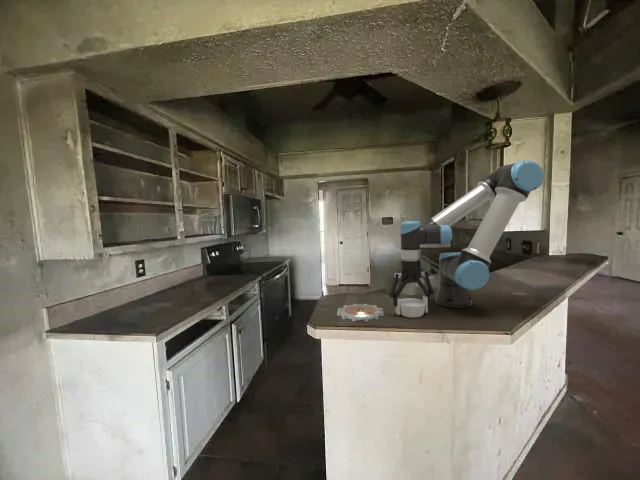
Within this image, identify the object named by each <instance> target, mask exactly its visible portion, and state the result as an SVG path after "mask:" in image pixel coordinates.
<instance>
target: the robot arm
mask: <svg viewBox="0 0 640 480" xmlns="http://www.w3.org/2000/svg"><path fill="white" fill-rule="evenodd" d="M543 181H544V172H543V169H542V167H541V166H540V164H538V163H537V162H535V161H533V160H525V159H524V160H519V161H516V162H514V163H510V164H505V165H502V166H500V167H498V168H496V169H495V170H493V171H492V172H491V173H490V174H488V175H487V176H485V177H484V178H483V179H482V180H480V181H479V182H477V186H475V187H474V188H472V189H471V190H470V191H468V192H467V193H465V194H464V195H463V196H461V197H459V198H458V199H457V200H456V201H454V202H453V203H451V204H450V205H448V206H447V207H445V208H444V209H443V210H441V211H439V212H438V213H437V214H436V215H434V216H432V217H431V218H430V219H428V220H427V221H425V222H424V223H421V222H420V221H417V220H416V221H415V220H413V221H412V220H410V221H409V220H407V221H406V220H405V221H402V222H401V223H400V233H399V234H400V259H401V260H400V267H401V271H400V272H399V273H396V272H394V273H393V280H392V283H391V285H390V288H389V291H388V297H389V298H392V302H393V303H392V304H393V307H394V308H395V314H396V315H397V316H400V315H401V314H400V298H399V297H400V295H401V293H402V292H403V290H404V289H405V287H406V285H407V284H411V283H416V284H417V285H418V287H419V288H420V290H421V291H422V293H423V295H422V300H423V301H425V302H426V306H425V310H424V313H425V314H428V312H429V310H428V305H429V304H430V297H431V296H432V295H434V294H435V291H434V289H433V286H432V283H431V280H430V278H429V272H428V271H426V270H423V271H421V266H422V265H421V264H422V263H421V260H420V259H421V245H445V244H449V243H451V241H452V238H453V233H452V232H453V231H452V228H451V226H453V225H454V224H455V223H457V222H459V221H460V220H461V219H463V218H465V217H466V216H467V215H469V214H470V213H471V212H474V211H475V210H476V209H477V208H479V207H480V206H482V205H483V204H485V203H486V202H487V201H492V202H491V205H490V206H489V207H488V210H487V212H486V213H485V214H484V217H483V219H482V220H481V223H480V224H479V226H478V228H477V230H476V232H475V234H474V236H473V237H472V239H471V241H470V243H469V245H468V247H466V248H463V249H461V251H460V252H459V251H458V252H441V253H440V254H439V259H438V262H439V263H438V265H439V266H438V267H439V268H438V270H439V276H438V277H439V286H438V289H437V293H436V295H435V303H436V304H437V305H439V306H442V307H445V308H446V307H447V308H453V309H462V308H463V309H465V308H470V307H471V306H473V299H472V295H471V293H470V290H478V289H480V288H482V287H484V286H485V285H486V284H487V282H488V281H489V280H490V279H489V278H490V271H489V267H490V266H491V264H492V261H491V259H490V257H491V255H492V253H493V251H494V250H495V247H496V246H497V244H498V243H499V241H500V238H501V237H502V235H503V233H504V232H505V230H506V228H507V226H508V224H509V222H510V221H511V219H512V217H513V215H514V214H515V211H516V209H517V208H518V206H519V204H520V203H523V202H525V201H526V200H527V199H528V197H529V195H530V194H531V192H534V191H536V190H537V189H538V188H540V186H542V184H543ZM420 277H422V278H423V281H424V284H425V285H424V284H423V282H422V281H421V279H420ZM399 279H401V280H399ZM399 281H400V282H399Z"/></svg>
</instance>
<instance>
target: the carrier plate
mask: <svg viewBox="0 0 640 480" xmlns="http://www.w3.org/2000/svg"><path fill="white" fill-rule="evenodd" d="M336 315H337V316H338V317H341V319H342V320H350V321H352V322H356V321H360V322H361V321H362V322H363V321H364V322H369V321H371V320H379V317H384V315H385V313H384V309H383V307H378V305H372V304H368V303H361V304H360V303H359V304H357V303H353V304H349V305H346V304H345V305H343V306H342V307H338V308H337V312H336Z"/></svg>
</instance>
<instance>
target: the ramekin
mask: <svg viewBox="0 0 640 480" xmlns="http://www.w3.org/2000/svg"><path fill="white" fill-rule="evenodd" d="M399 299H400V298H399ZM425 306H426V302H425V301H423V299H420V298H414V297H411V298H410V297H407V298H401V299H400V315H401V316H402V317H405V318H409V319H411V318H413V319H414V318H415V319H416V318H421V317H423V316H424V314H425V312H424V310H425Z"/></svg>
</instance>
